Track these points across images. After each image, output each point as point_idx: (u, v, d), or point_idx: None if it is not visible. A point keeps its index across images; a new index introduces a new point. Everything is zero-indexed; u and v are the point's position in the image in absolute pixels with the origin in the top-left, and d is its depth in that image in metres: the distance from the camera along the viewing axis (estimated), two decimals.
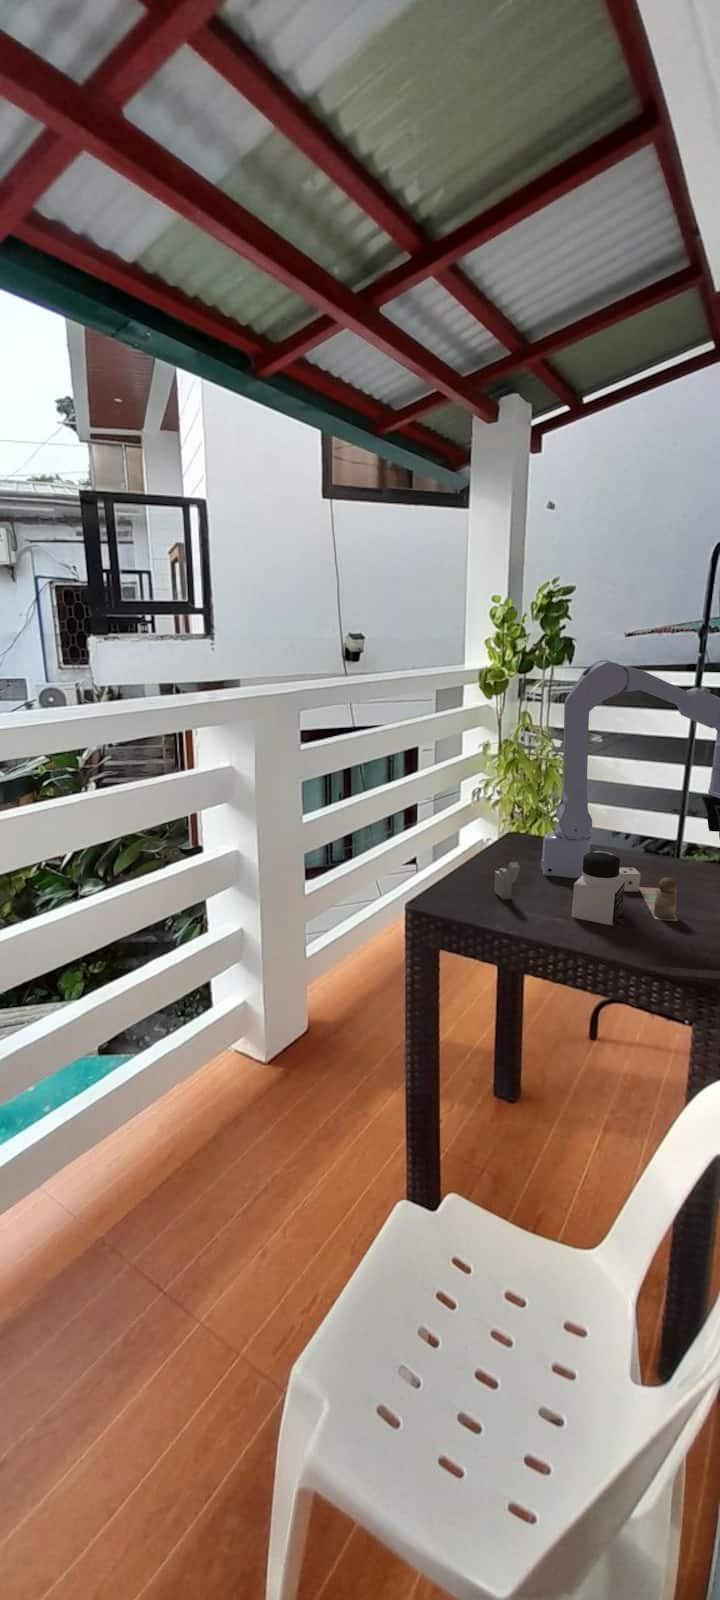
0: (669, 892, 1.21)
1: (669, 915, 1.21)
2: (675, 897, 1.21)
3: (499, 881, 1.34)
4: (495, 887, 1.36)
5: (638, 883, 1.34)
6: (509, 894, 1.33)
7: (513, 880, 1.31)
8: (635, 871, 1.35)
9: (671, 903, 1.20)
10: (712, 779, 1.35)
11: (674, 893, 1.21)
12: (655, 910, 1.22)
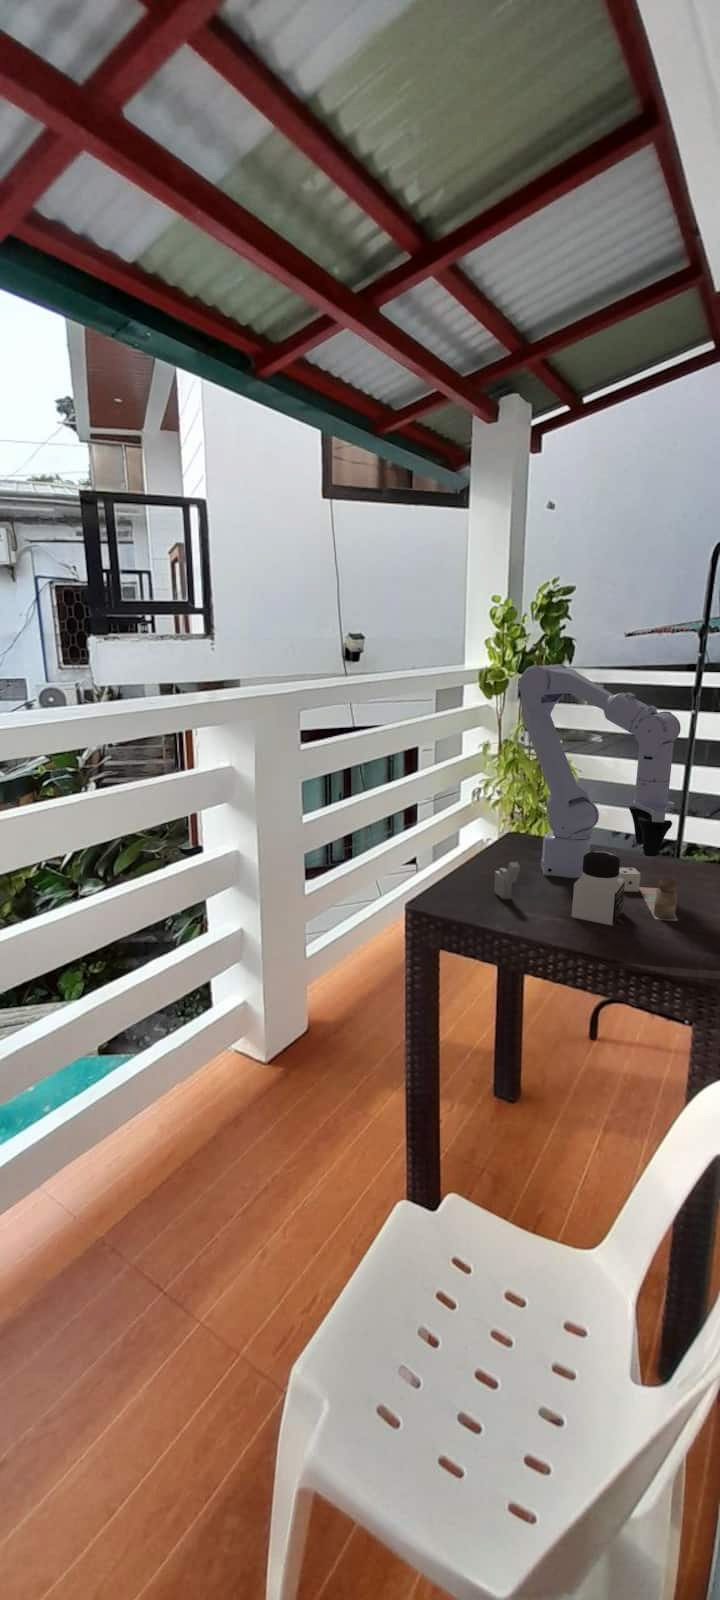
0: (669, 892, 1.21)
1: (669, 915, 1.21)
2: (675, 897, 1.21)
3: (499, 881, 1.34)
4: (495, 887, 1.36)
5: (638, 883, 1.34)
6: (509, 894, 1.33)
7: (513, 880, 1.31)
8: (635, 871, 1.35)
9: (671, 903, 1.21)
10: (636, 790, 1.29)
11: (674, 893, 1.21)
12: (655, 910, 1.22)
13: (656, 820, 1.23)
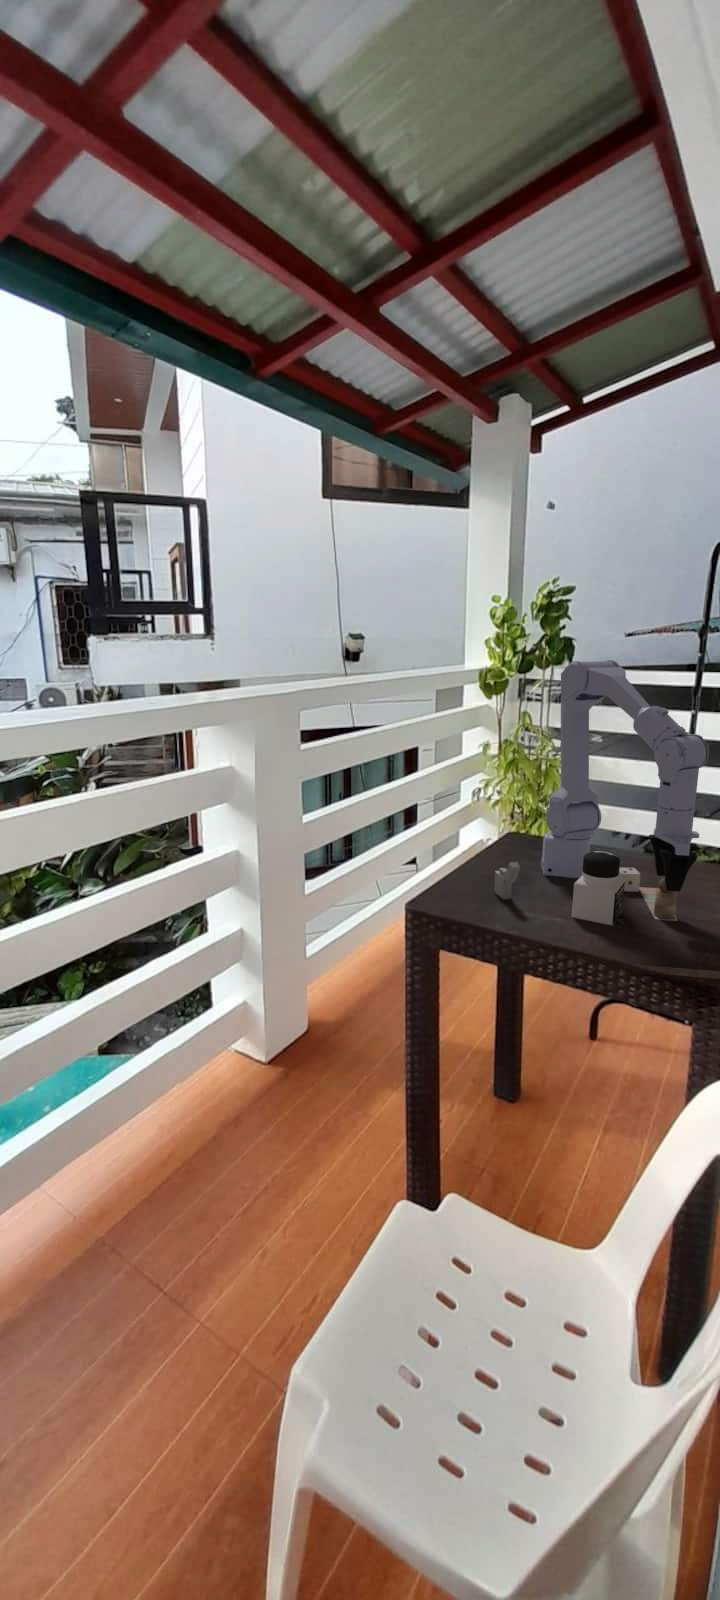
0: (669, 892, 1.21)
1: (669, 915, 1.21)
2: (675, 897, 1.21)
3: (499, 881, 1.34)
4: (495, 887, 1.36)
5: (638, 883, 1.34)
6: (509, 894, 1.33)
7: (513, 880, 1.31)
8: (635, 871, 1.35)
9: (671, 903, 1.21)
10: (657, 818, 1.19)
11: (674, 893, 1.21)
12: (655, 910, 1.22)
13: (680, 853, 1.13)
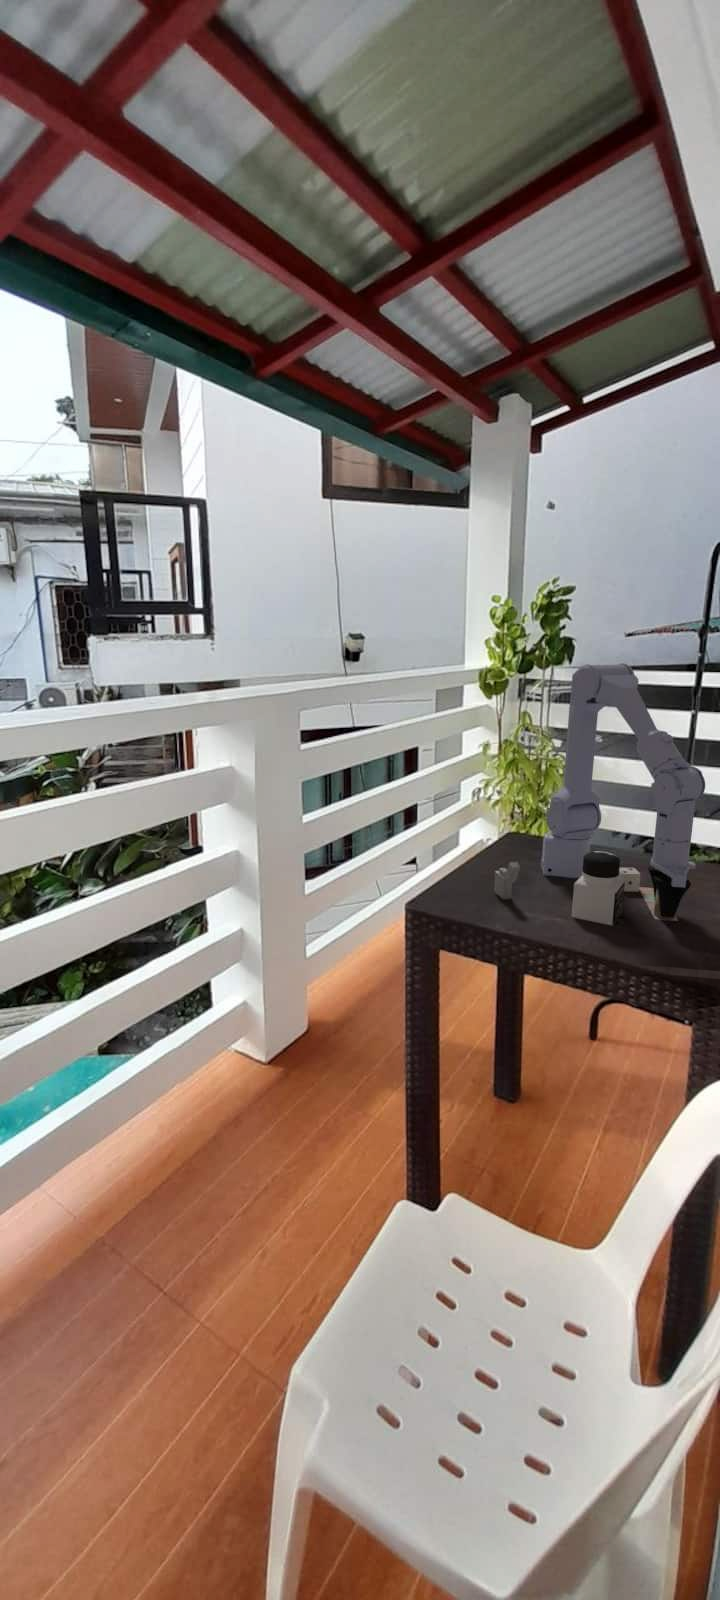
0: None
1: None
2: None
3: (499, 881, 1.34)
4: (495, 887, 1.36)
5: (638, 883, 1.34)
6: (509, 894, 1.33)
7: (513, 880, 1.31)
8: (635, 871, 1.35)
9: None
10: (654, 849, 1.20)
11: None
12: (655, 910, 1.22)
13: (676, 885, 1.14)
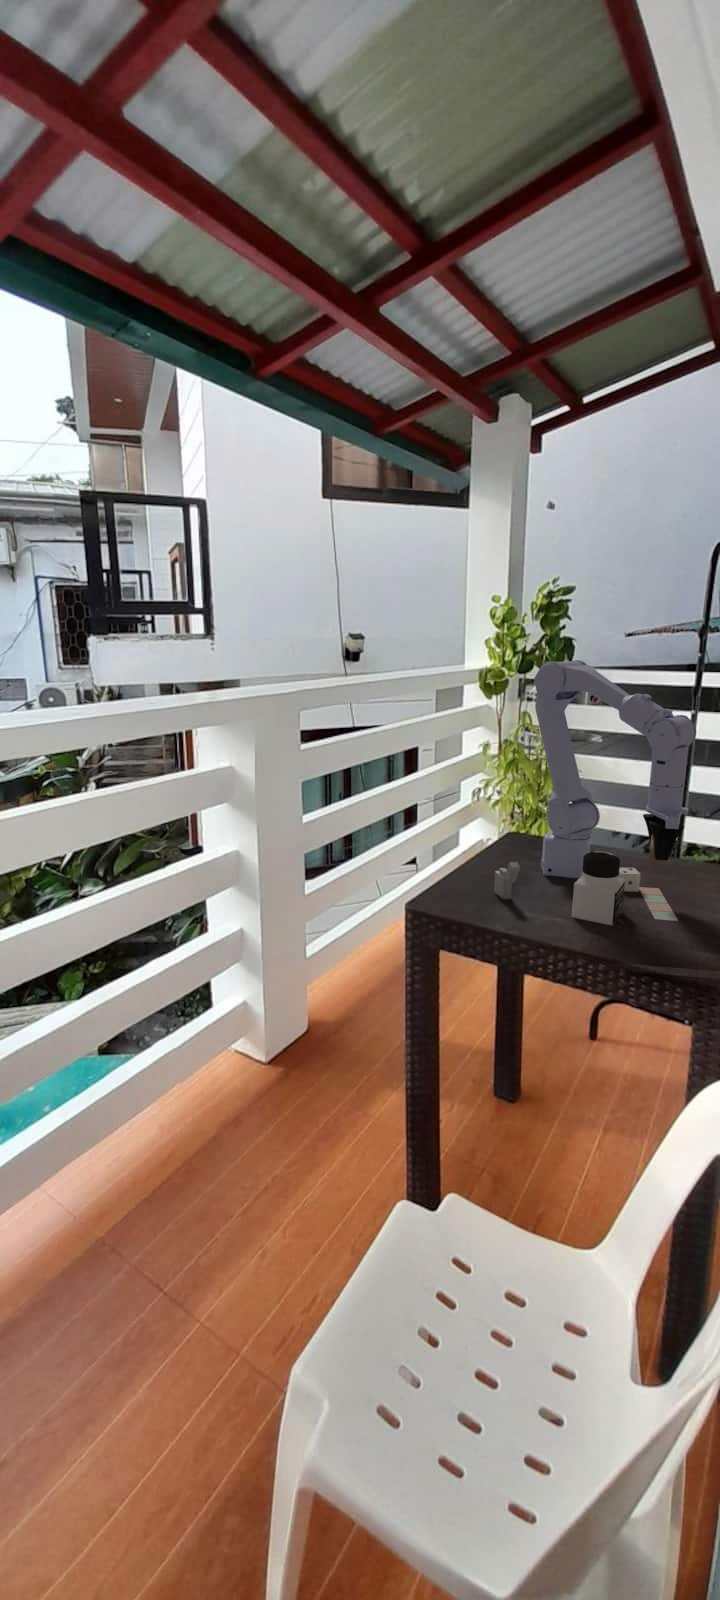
0: None
1: None
2: None
3: (499, 881, 1.34)
4: (495, 887, 1.36)
5: (638, 883, 1.34)
6: (509, 894, 1.33)
7: (513, 880, 1.31)
8: (635, 871, 1.35)
9: None
10: (649, 795, 1.26)
11: None
12: (651, 855, 1.28)
13: (670, 827, 1.20)
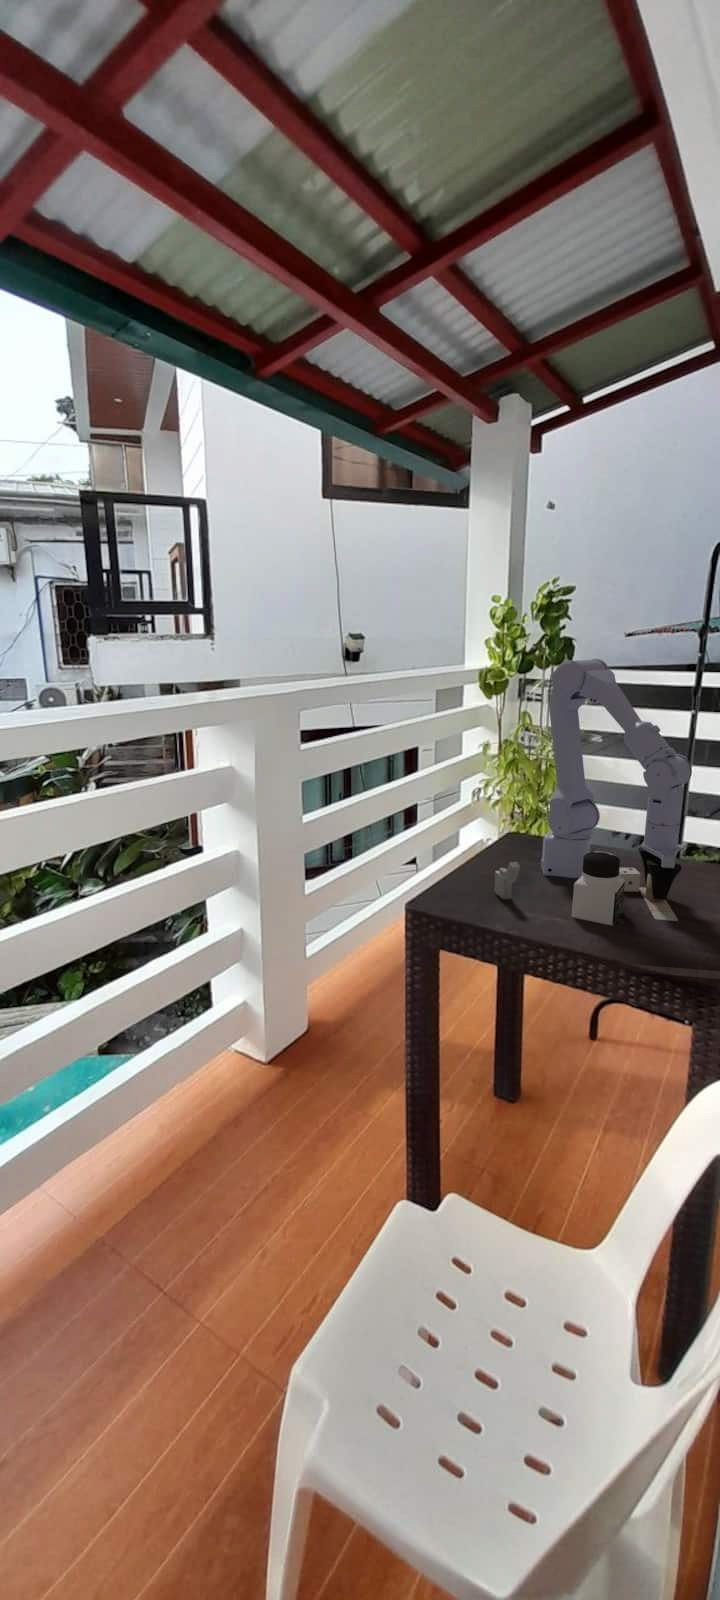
0: None
1: None
2: None
3: (499, 881, 1.34)
4: (495, 887, 1.36)
5: (638, 883, 1.34)
6: (509, 894, 1.33)
7: (513, 880, 1.31)
8: (635, 871, 1.35)
9: None
10: (645, 833, 1.28)
11: None
12: (647, 893, 1.30)
13: (666, 866, 1.21)
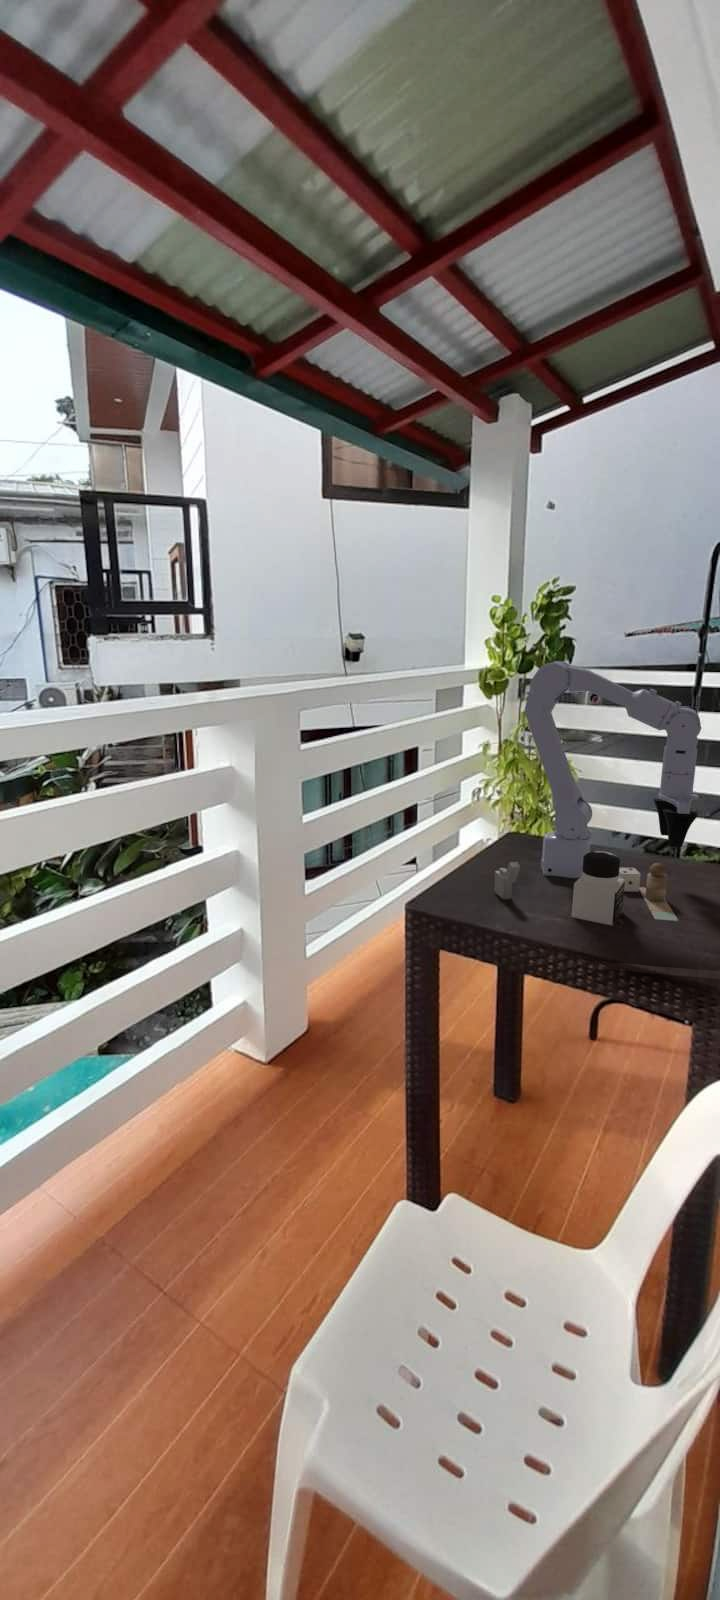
0: (659, 876, 1.28)
1: (659, 898, 1.29)
2: (665, 881, 1.28)
3: (499, 881, 1.34)
4: (495, 887, 1.36)
5: (638, 883, 1.34)
6: (509, 894, 1.33)
7: (513, 880, 1.31)
8: (635, 871, 1.35)
9: (661, 887, 1.28)
10: (661, 782, 1.33)
11: (664, 877, 1.28)
12: (647, 893, 1.30)
13: (681, 812, 1.27)
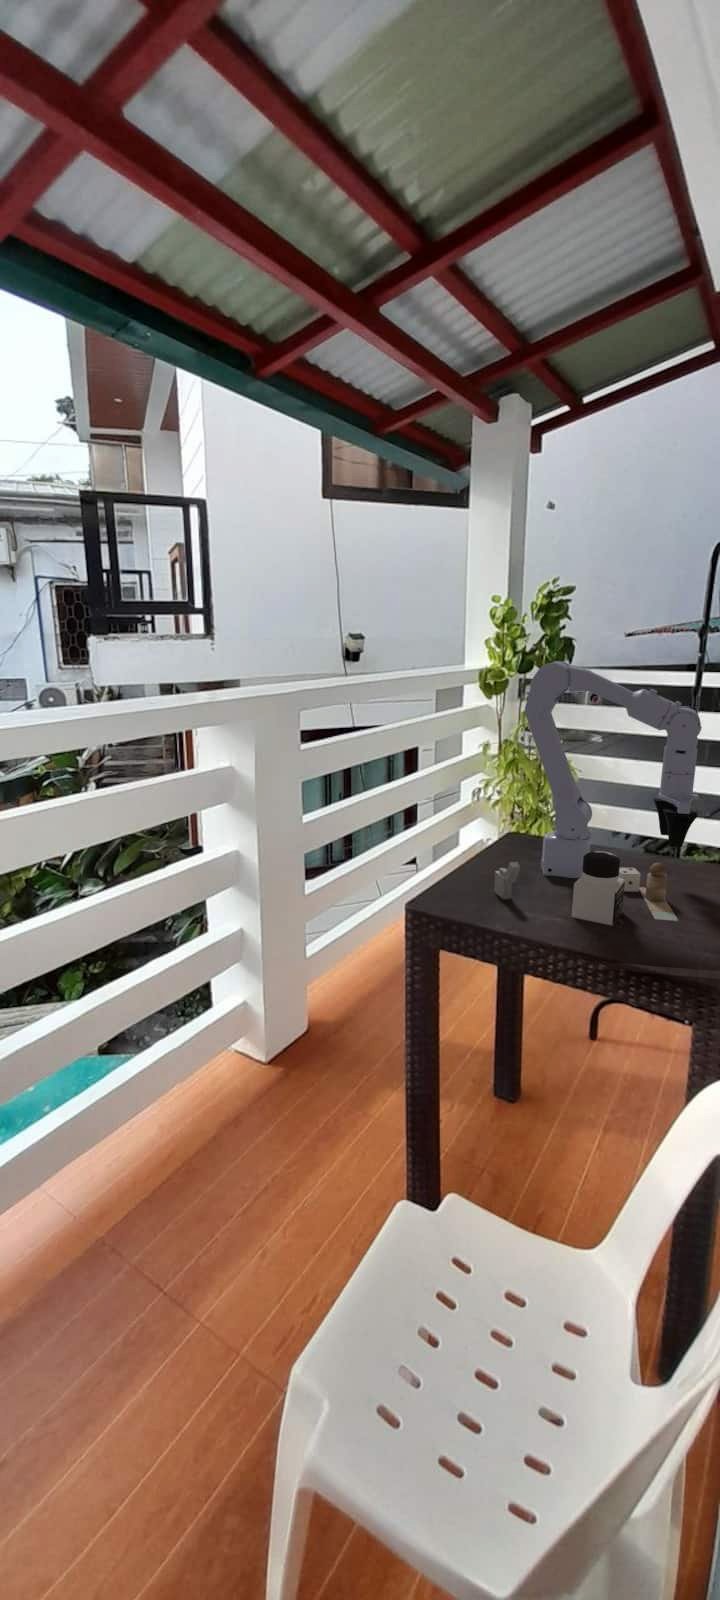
0: (659, 876, 1.28)
1: (659, 898, 1.29)
2: (665, 881, 1.28)
3: (499, 881, 1.34)
4: (495, 887, 1.36)
5: (638, 883, 1.34)
6: (509, 894, 1.33)
7: (513, 880, 1.31)
8: (635, 871, 1.35)
9: (661, 887, 1.28)
10: (661, 782, 1.33)
11: (664, 877, 1.28)
12: (647, 893, 1.30)
13: (682, 811, 1.27)
